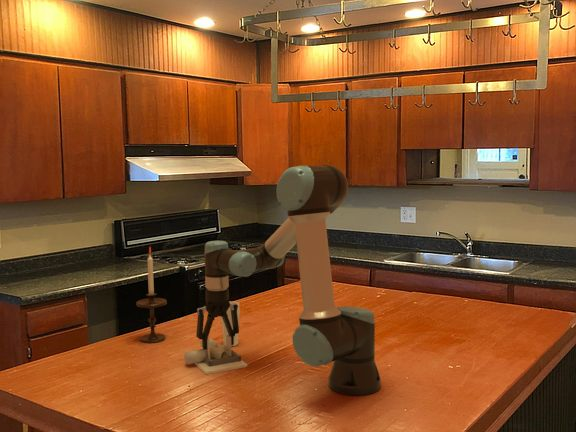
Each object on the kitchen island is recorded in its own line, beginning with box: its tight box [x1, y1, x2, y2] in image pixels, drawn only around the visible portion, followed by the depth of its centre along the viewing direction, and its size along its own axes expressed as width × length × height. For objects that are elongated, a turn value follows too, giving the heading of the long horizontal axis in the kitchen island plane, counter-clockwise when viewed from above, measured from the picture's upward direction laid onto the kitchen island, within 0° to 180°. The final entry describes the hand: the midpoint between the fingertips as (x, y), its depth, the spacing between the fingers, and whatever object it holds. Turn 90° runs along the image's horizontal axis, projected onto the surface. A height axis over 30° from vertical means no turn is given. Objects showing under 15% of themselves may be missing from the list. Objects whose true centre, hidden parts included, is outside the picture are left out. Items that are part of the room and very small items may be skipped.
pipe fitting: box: [210, 344, 228, 359], centre depth 199 cm, size 8×4×7 cm
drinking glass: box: [220, 301, 241, 347], centre depth 216 cm, size 7×7×15 cm
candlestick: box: [136, 245, 168, 344], centre depth 222 cm, size 11×11×35 cm
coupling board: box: [183, 336, 248, 375], centre depth 199 cm, size 22×17×5 cm
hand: (218, 356), depth 199 cm, fingers closed on pipe fitting, 7 cm apart
